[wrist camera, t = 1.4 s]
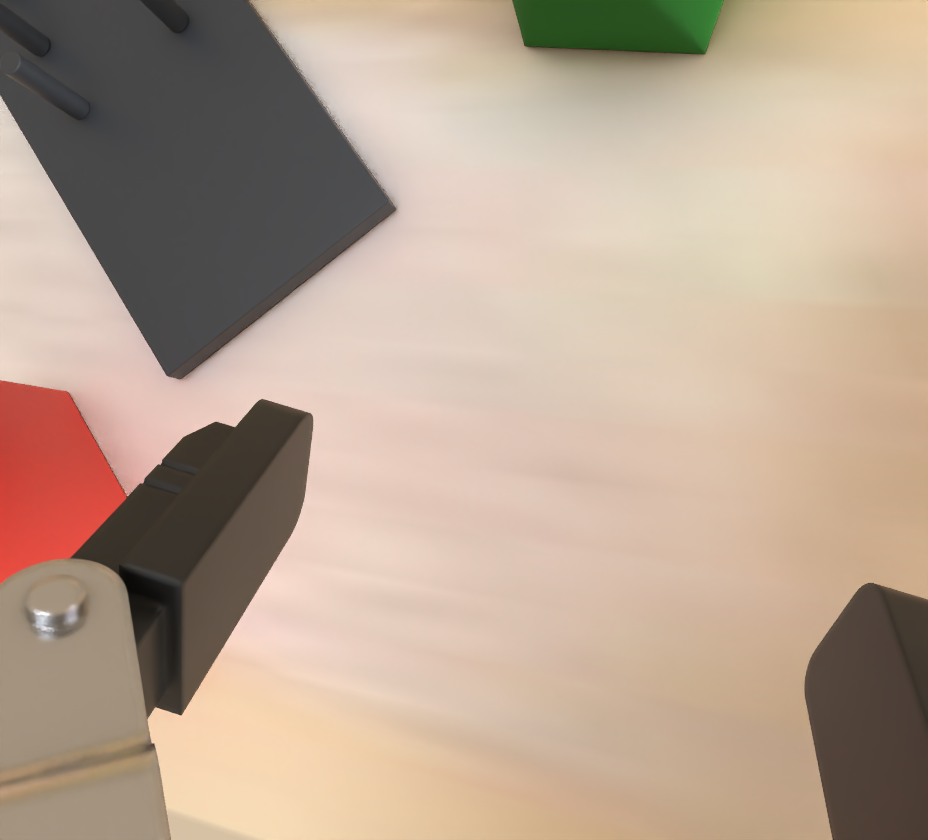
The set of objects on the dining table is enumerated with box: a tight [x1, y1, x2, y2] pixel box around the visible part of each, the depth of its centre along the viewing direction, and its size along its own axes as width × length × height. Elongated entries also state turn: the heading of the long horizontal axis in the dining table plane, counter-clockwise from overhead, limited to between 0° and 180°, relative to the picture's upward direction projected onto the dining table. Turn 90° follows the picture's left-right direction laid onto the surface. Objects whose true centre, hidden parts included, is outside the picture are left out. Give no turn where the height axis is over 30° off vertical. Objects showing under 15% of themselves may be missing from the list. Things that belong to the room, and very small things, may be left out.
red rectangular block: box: [0, 380, 127, 584], centre depth 30 cm, size 2×12×9 cm, turn 34°
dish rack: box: [0, 0, 396, 379], centre depth 33 cm, size 12×22×5 cm, turn 34°
